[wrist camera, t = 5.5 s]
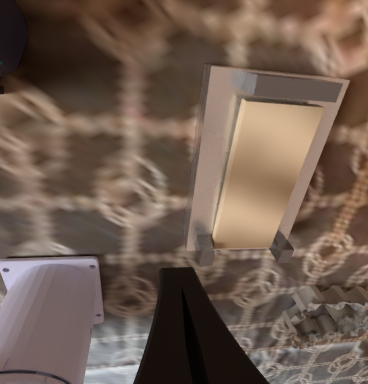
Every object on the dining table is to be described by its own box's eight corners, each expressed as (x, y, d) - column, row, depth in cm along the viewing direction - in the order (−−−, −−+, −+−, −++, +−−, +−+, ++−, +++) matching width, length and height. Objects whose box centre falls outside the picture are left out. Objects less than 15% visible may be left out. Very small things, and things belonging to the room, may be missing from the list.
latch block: (273, 233, 24) (295, 264, 21) (182, 235, 23) (189, 268, 19) (329, 76, 17) (375, 84, 14) (203, 63, 16) (220, 69, 12)
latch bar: (266, 240, 22) (270, 247, 21) (211, 241, 21) (213, 248, 20) (317, 104, 16) (325, 107, 15) (242, 98, 15) (246, 101, 14)
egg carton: (273, 317, 33) (289, 350, 29) (300, 278, 29) (322, 310, 26) (339, 320, 35) (360, 351, 32) (371, 284, 32) (399, 314, 28)
